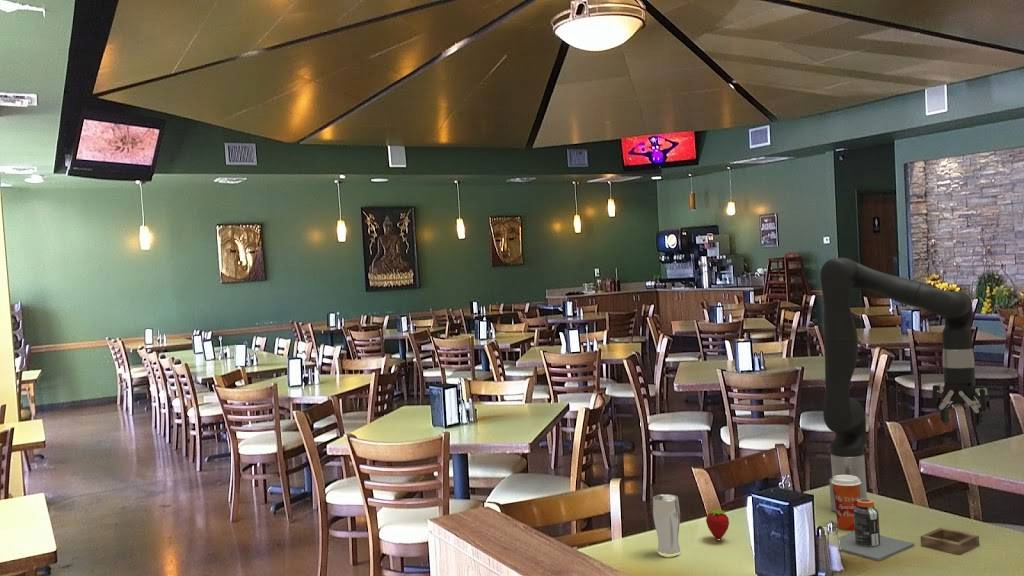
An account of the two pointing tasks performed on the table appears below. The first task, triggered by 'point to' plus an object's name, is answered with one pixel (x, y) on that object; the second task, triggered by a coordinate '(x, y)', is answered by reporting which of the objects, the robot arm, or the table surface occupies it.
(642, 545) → the table surface
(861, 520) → the pill bottle
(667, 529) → the beer glass
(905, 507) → the table surface
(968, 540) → the holder collar
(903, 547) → the rubber mat
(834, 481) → the paper cup
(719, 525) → the strawberry
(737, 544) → the table surface
